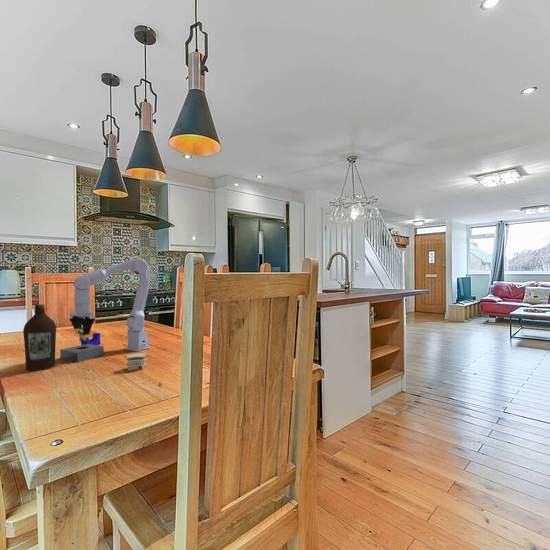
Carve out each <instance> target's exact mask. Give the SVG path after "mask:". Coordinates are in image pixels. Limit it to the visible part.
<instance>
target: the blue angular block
mask: <svg viewBox="0 0 550 550" xmlns="http://www.w3.org/2000/svg"><path fill="white" fill-rule="evenodd" d="M84 344H91V345H97V346H100V345H101V332H94V333H92V338H90V337H89V336H86V341H80V345H84Z"/></svg>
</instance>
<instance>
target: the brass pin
mask: <svg viewBox="0 0 550 550" xmlns="http://www.w3.org/2000/svg"><path fill="white" fill-rule="evenodd" d="M74 333H75V335H76V334H77V335H78V338H79V340H78V341H79V342H81V341H86V337H87V335H84V333H83V326H82V327H79V328H75V330H74Z"/></svg>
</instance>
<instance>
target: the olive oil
mask: <svg viewBox="0 0 550 550" xmlns="http://www.w3.org/2000/svg"><path fill="white" fill-rule="evenodd" d="M22 331H23V332H22V333H23V342H24V343H23V344H24V353H25V369H26V371H31V372H32V371H43V370H46V369H50V368H53V367H54V366H56V343H57V342H56V340H57V338H56V337H57V325H56V322H55V321H54V319H52V318H50V316H49V315H48V314H46V306H45V304H44V303H43V304H35V305H34V315H32V317H30V319H29V320H28V321H27V322H26V323H25V324H24V327H23V330H22Z"/></svg>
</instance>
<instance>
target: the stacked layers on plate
mask: <svg viewBox="0 0 550 550" xmlns="http://www.w3.org/2000/svg"><path fill="white" fill-rule="evenodd" d="M146 356H147V354H146V353H144V352H137V353H131V354H126V357H127V358H126V359H125V360H126V361H127V362H126V366H127V370H128V371H133V370H134V371H135V370H139V369H140V368H143V366H145V365H147V364H148V363H147V362H146V361H147V359H148V358H147V357H146Z"/></svg>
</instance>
